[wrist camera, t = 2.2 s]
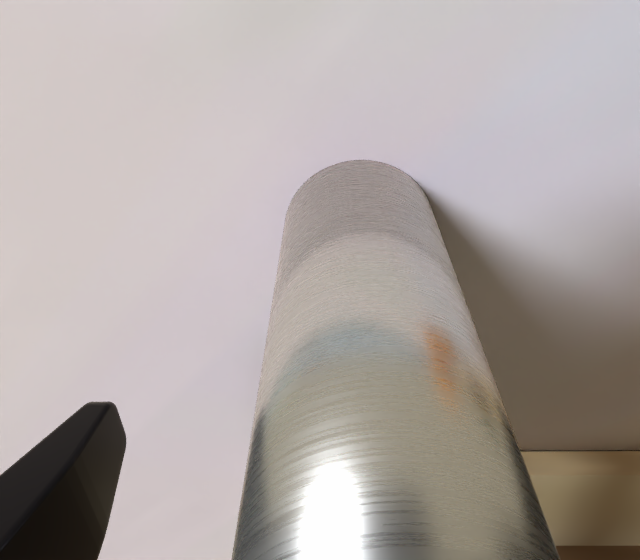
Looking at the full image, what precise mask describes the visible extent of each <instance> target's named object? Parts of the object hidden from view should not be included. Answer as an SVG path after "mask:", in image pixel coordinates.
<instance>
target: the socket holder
mask: <svg viewBox="0 0 640 560" xmlns="http://www.w3.org/2000/svg"><path fill="white" fill-rule="evenodd" d="M521 454H522V456H523V459H524V462H525V465H526V467H527V470H528V473H529V475H530V478H531V481H532V484H533V486H534V489H535V492H536V495H537V497H538V500H539V503H540V505H541V508H542V511H543V514H544V516H545V519H546V522H547V524H548V527H549V530H550V533H551V535H552V538H553V541H554V544H555V546H556V549H557V552H558V554H559V557H560V560H640V451H544V452H521Z"/></svg>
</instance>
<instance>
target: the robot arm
mask: <svg viewBox="0 0 640 560" xmlns="http://www.w3.org/2000/svg"><path fill="white" fill-rule="evenodd" d="M125 449H126V435H125V431H124V428H123V425H122V422H121V419H120V416H119V413H118V410H117V408H116V406H115V404H114V403H112V402H89V403H87V404H85V405H84V406H83V407H81V408H80V409H79V410H78V411H77V412H75V413H74V414H73V415H72V416H71V417H70V418H68V419H67V420H66V421H65V422H64V423H62V424H61V425H60V426H59V427H58V428H56V429H55V430H54V431H53V432H52V433H50V434H49V435H48V436H47V437H46V438H44V439H43V440H42V441H41V442H40V443H38V444H37V445H36V446H35V447H34V448H32V449H31V450H30V451H29V452H28V453H26V454H25V455H24V456H23V457H22V458H20V459H19V460H18V461H17V462H16V463H14V464H13V465H12V466H11V467H10V468H9V469H7V470H6V471H5V472H4V473H3V474H1V475H0V560H97V559H98V556H99V553H100V550H101V547H102V544H103V541H104V538H105V534H106V530H107V526H108V522H109V518H110V514H111V509H112V505H113V501H114V496H115V492H116V488H117V483H118V479H119V475H120V470H121V466H122V462H123V458H124V453H125Z"/></svg>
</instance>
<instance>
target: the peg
mask: <svg viewBox="0 0 640 560" xmlns="http://www.w3.org/2000/svg"><path fill="white" fill-rule="evenodd" d="M232 560H560V557H559V554H558V552H557V549H556V546H555V544H554V541H553V538H552V535H551V533H550V530H549V527H548V524H547V522H546V519H545V516H544V514H543V511H542V508H541V505H540V503H539V500H538V497H537V495H536V492H535V489H534V486H533V484H532V481H531V478H530V475H529V473H528V470H527V467H526V465H525V462H524V459H523V456H522V454H521V451H520V448H519V445H518V443H517V440H516V437H515V435H514V432H513V429H512V426H511V424H510V421H509V418H508V415H507V413H506V410H505V407H504V405H503V402H502V399H501V396H500V394H499V391H498V388H497V386H496V383H495V380H494V377H493V375H492V372H491V369H490V366H489V364H488V361H487V358H486V356H485V353H484V350H483V347H482V345H481V342H480V339H479V336H478V334H477V331H476V328H475V326H474V323H473V320H472V317H471V315H470V312H469V309H468V307H467V304H466V301H465V298H464V296H463V293H462V290H461V287H460V285H459V282H458V279H457V277H456V274H455V271H454V268H453V266H452V263H451V260H450V257H449V255H448V252H447V249H446V247H445V244H444V241H443V238H442V236H441V233H440V230H439V228H438V225H437V222H436V219H435V217H434V214H433V211H432V208H431V206H430V203H429V201H428V199H427V197H426V195H425V193H424V192H423V190H422V189H421V187H420V186H419V185H418V184H417V183H416V182H415V181H414V180H413V179H412V178H411V177H410V176H408V175H407V174H406V173H404V172H403V171H401V170H399V169H397V168H395V167H393V166H391V165H388V164H385V163H381V162H376V161H370V160H354V161H346V162H341V163H338V164H335V165H332V166H329V167H327V168H325V169H323V170H321V171H319V172H318V173H316V174H315V175H313V176H312V177H310V178H309V179H308V180H307V181H306V182H305V183H304V184H303V185H302V186H301V187H300V188H299V189H298V191H297V192H296V194H295V195H294V197H293V198H292V200H291V203H290V205H289V207H288V210H287V214H286V218H285V225H284V231H283V237H282V244H281V250H280V256H279V263H278V269H277V275H276V282H275V288H274V294H273V301H272V307H271V313H270V320H269V326H268V332H267V339H266V345H265V351H264V358H263V364H262V370H261V377H260V383H259V389H258V396H257V402H256V408H255V415H254V421H253V427H252V434H251V440H250V446H249V453H248V459H247V465H246V472H245V478H244V484H243V491H242V497H241V503H240V510H239V516H238V522H237V529H236V535H235V541H234V548H233V554H232Z"/></svg>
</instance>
